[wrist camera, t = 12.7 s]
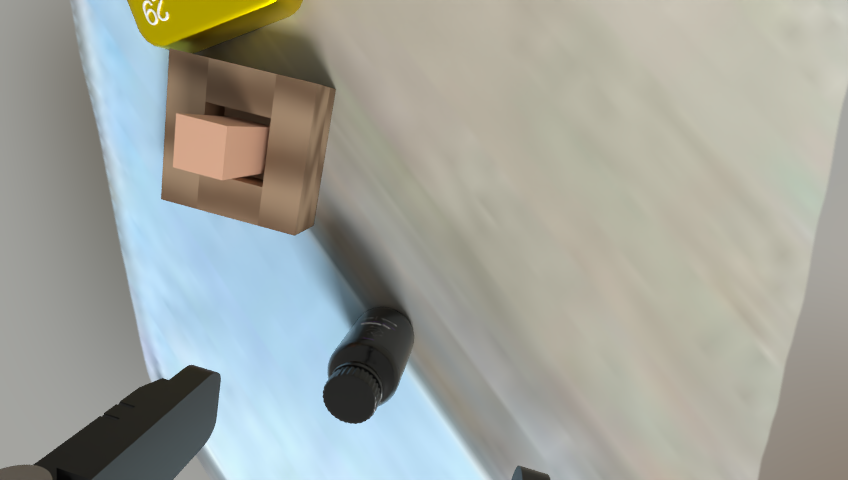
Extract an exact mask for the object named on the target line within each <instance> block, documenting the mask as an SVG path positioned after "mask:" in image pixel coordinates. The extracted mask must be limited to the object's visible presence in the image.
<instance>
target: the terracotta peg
mask: <svg viewBox="0 0 848 480" xmlns="http://www.w3.org/2000/svg"><path fill="white" fill-rule="evenodd" d="M269 131H270V126H268V125H264V124H260V123H256V122H252V121H248V120H244V119H240V118H236V117H225V116H211V115H196V114H182V113H176V125H175V141H174V156H173V167H174V168H177V169H181V170H185V171H189V172H192V173H196V174H200V175H204V176H207V177H211V178H215V179H219V180H227V179H233V178H238V177H244V176H250V175H256V174H261V173H264V171H265V163H266V155H267V147H268V139H269Z"/></svg>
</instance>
